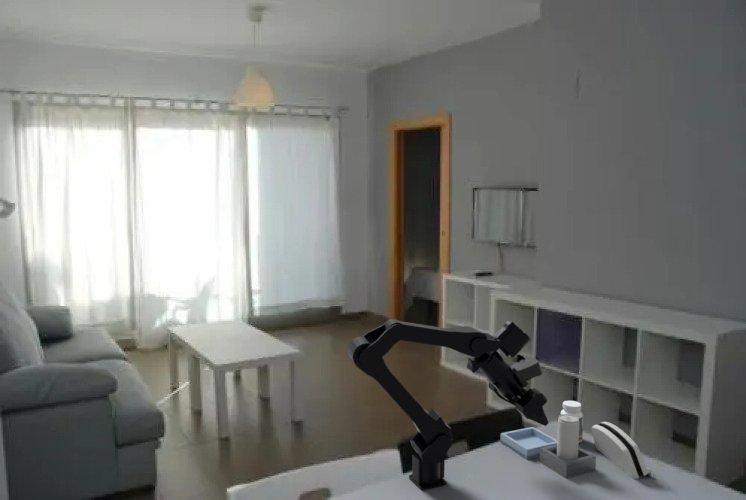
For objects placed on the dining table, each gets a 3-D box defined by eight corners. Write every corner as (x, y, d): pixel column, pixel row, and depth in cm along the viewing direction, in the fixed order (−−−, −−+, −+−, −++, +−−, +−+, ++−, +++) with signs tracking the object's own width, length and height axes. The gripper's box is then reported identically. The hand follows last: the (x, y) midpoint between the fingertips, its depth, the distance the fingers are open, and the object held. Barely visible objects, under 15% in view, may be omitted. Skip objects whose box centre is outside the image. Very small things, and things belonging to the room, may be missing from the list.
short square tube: (565, 478, 133) (566, 463, 132) (539, 461, 141) (539, 448, 141) (595, 470, 136) (596, 456, 136) (568, 455, 145) (568, 441, 144)
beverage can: (556, 469, 137) (558, 420, 136) (556, 460, 142) (557, 413, 140) (578, 472, 136) (579, 422, 134) (577, 463, 140) (578, 415, 139)
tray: (526, 459, 142) (527, 449, 142) (500, 442, 152) (500, 433, 152) (560, 451, 146) (560, 442, 146) (532, 435, 156) (532, 426, 156)
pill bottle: (581, 436, 156) (582, 400, 155) (583, 445, 150) (584, 408, 149) (559, 434, 157) (560, 398, 156) (560, 442, 152) (561, 406, 151)
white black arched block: (654, 477, 133) (643, 439, 132) (636, 485, 133) (624, 447, 131) (613, 446, 150) (603, 412, 148) (597, 453, 149) (586, 419, 148)
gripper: (542, 358, 124) (583, 406, 128) (504, 337, 143) (540, 380, 146) (506, 394, 123) (548, 442, 127) (471, 368, 141) (509, 411, 145)
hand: (536, 416), depth 136 cm, fingers open, 9 cm apart
